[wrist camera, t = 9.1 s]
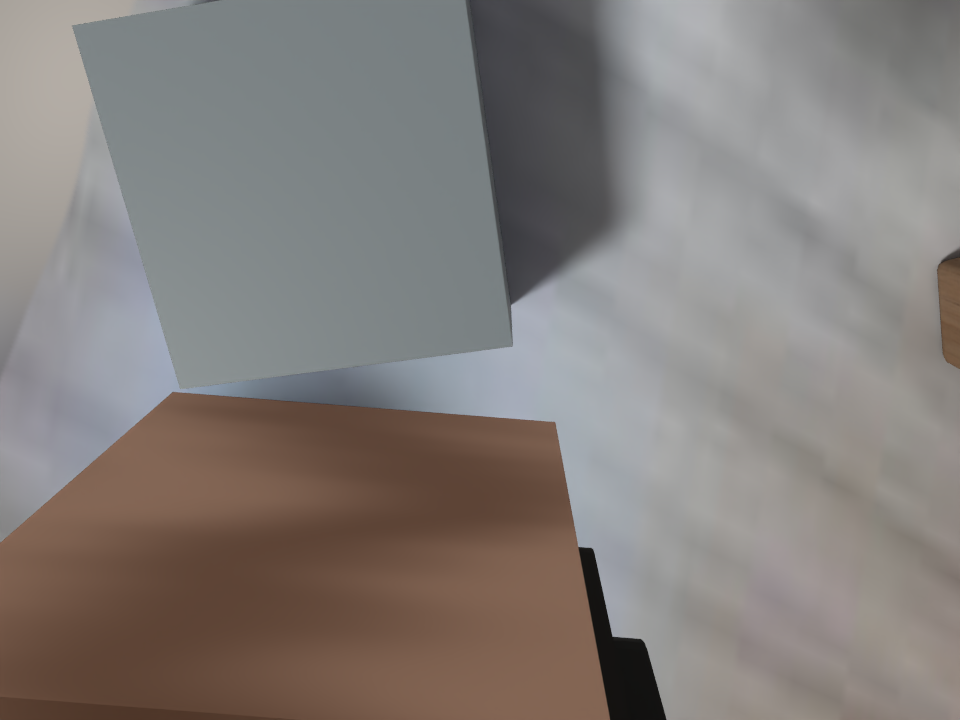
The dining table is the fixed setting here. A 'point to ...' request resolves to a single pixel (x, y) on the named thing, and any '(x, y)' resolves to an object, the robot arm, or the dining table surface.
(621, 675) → the robot arm
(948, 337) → the wooden block
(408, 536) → the terracotta cube
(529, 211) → the dining table surface
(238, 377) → the slate box
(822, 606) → the dining table surface
